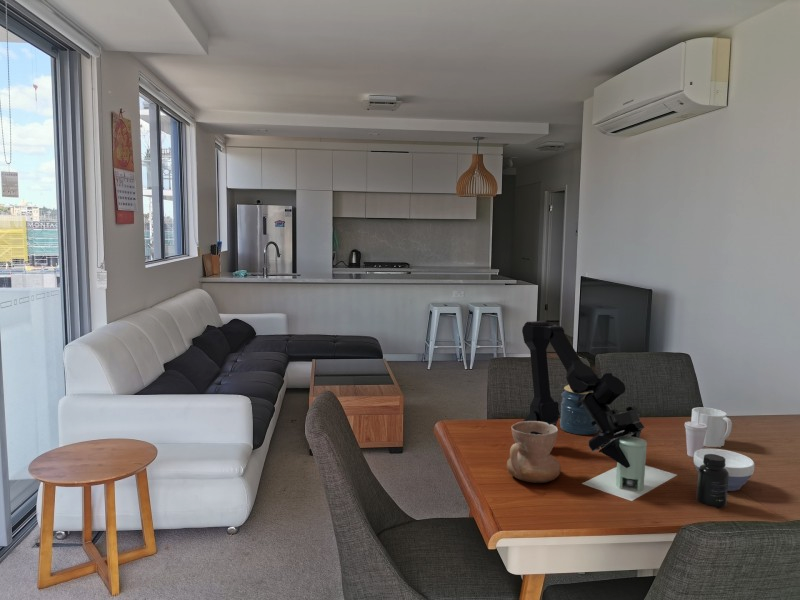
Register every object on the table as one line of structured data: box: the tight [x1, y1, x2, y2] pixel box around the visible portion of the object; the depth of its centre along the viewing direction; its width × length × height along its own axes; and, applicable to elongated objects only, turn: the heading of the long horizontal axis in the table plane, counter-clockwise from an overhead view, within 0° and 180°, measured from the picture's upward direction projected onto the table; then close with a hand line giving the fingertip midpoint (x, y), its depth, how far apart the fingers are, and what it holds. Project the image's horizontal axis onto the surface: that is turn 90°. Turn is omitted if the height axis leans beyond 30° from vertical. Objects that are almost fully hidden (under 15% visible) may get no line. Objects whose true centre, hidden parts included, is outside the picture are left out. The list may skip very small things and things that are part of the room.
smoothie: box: [684, 411, 708, 458], centre depth 188 cm, size 6×6×14 cm
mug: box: [690, 406, 733, 448], centre depth 200 cm, size 13×10×10 cm
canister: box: [559, 384, 599, 436], centre depth 211 cm, size 13×13×18 cm
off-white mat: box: [581, 464, 678, 502], centre depth 168 cm, size 26×14×1 cm, turn 132°
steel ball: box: [624, 478, 636, 487], centre depth 163 cm, size 3×3×3 cm
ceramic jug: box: [506, 421, 562, 484], centre depth 169 cm, size 18×14×14 cm
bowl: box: [693, 448, 755, 492], centre depth 167 cm, size 14×14×8 cm
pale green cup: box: [616, 436, 648, 492], centre depth 163 cm, size 7×7×12 cm
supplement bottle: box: [695, 454, 729, 509], centre depth 155 cm, size 7×7×12 cm
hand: (636, 464), depth 162 cm, fingers closed on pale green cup, 7 cm apart
